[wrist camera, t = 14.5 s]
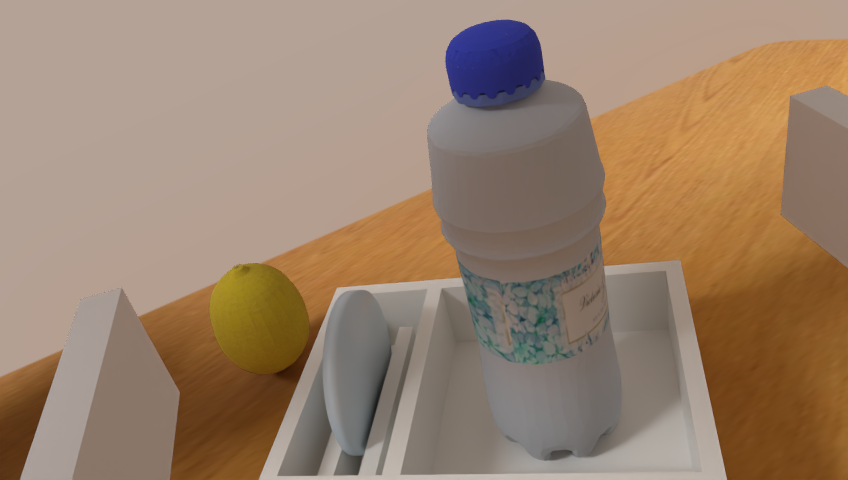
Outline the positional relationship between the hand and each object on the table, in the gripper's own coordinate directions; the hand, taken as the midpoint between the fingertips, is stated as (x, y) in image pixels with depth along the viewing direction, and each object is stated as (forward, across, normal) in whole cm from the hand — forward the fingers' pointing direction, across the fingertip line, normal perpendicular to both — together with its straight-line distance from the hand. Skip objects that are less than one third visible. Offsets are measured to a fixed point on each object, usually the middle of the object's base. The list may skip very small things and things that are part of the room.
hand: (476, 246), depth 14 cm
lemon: (+24, -10, -22) cm, 34 cm away
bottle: (+12, +4, -20) cm, 24 cm away
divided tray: (+13, +2, -21) cm, 25 cm away
